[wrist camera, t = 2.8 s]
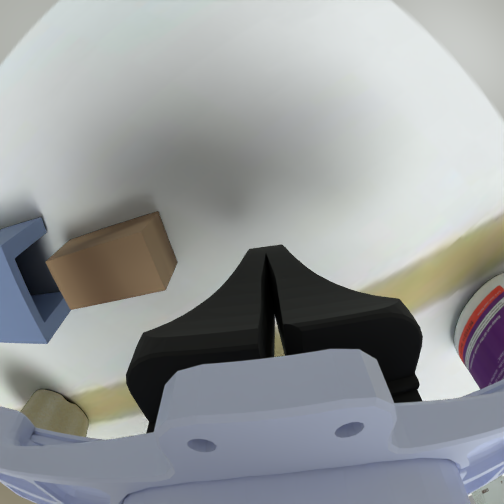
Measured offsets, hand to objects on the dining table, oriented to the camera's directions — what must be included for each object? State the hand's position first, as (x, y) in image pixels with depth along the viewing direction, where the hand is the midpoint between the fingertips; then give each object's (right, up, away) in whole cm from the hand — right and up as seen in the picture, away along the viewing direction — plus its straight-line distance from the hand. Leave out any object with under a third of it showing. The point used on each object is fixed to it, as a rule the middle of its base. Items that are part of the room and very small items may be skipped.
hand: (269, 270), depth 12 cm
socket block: (-15, 0, +5) cm, 16 cm away
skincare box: (+44, -42, +26) cm, 66 cm away
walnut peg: (-8, +1, +5) cm, 9 cm away
